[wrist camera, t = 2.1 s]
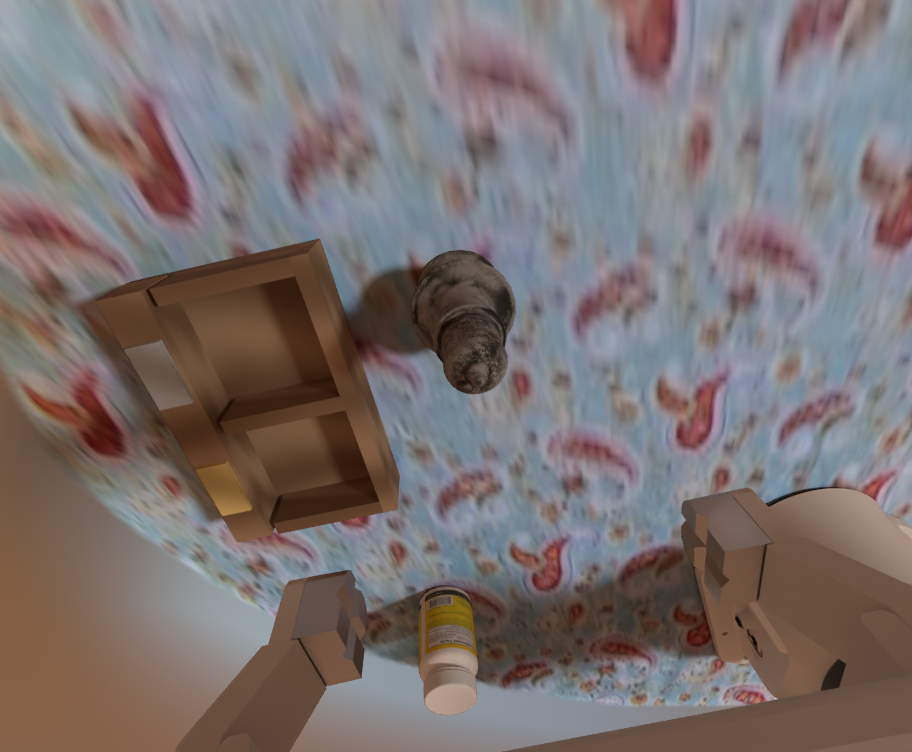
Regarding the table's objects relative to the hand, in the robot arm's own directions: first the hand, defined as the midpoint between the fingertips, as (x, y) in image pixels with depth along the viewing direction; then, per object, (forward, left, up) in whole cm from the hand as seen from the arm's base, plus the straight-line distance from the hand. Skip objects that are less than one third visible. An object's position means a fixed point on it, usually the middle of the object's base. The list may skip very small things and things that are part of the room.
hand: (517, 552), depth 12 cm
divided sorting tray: (-4, +13, -21) cm, 25 cm away
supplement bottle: (-28, +7, -21) cm, 36 cm away
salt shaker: (0, 0, -21) cm, 21 cm away
